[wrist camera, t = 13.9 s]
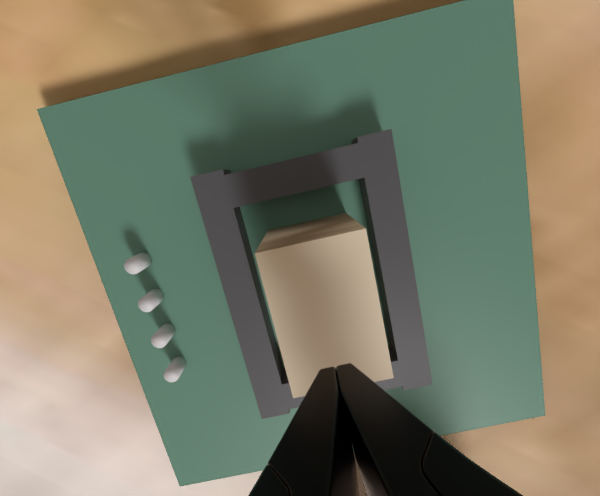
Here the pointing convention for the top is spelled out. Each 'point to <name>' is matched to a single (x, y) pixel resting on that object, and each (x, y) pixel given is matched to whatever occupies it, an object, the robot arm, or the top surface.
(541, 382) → the socket board
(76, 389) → the top surface
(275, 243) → the plug
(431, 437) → the robot arm
